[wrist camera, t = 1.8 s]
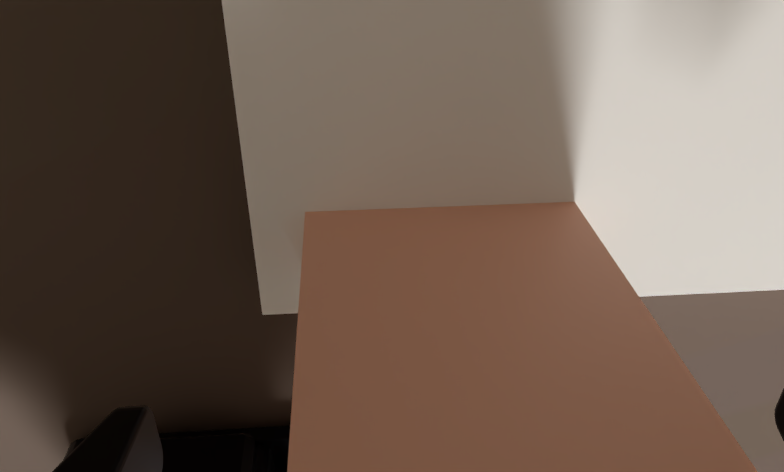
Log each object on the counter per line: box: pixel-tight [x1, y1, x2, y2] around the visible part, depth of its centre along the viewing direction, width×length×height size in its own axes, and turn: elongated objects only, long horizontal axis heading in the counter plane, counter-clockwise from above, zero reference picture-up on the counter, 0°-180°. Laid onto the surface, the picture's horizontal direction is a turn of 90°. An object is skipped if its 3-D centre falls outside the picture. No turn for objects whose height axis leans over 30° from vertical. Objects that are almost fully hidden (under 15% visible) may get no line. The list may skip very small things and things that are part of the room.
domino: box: [287, 202, 757, 472], centre depth 8 cm, size 2×5×10 cm, turn 90°
